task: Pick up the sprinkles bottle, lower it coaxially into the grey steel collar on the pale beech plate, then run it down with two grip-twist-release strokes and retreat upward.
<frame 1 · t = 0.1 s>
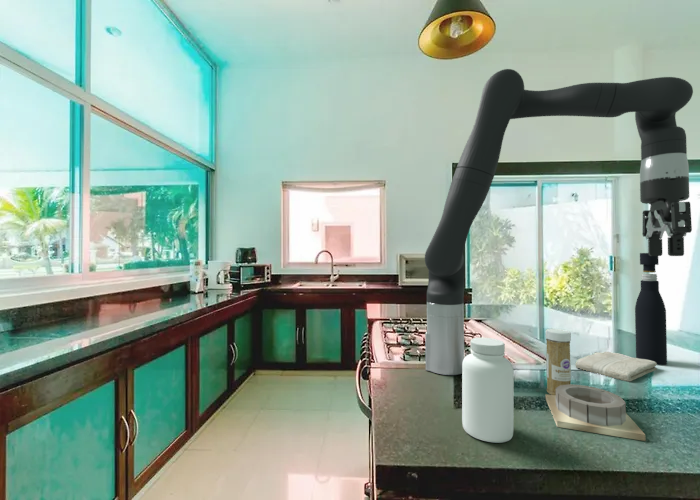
hand: (665, 255, 70), 29 cm above the counter, tool pointing down, fingers open, 8 cm apart
pill bottle: (487, 432, 56), on the counter
washcloth: (616, 371, 87), on the counter
black bottle: (651, 362, 93), on the counter
collar: (589, 417, 61), on the counter
sprinkles bottle: (558, 394, 71), on the counter
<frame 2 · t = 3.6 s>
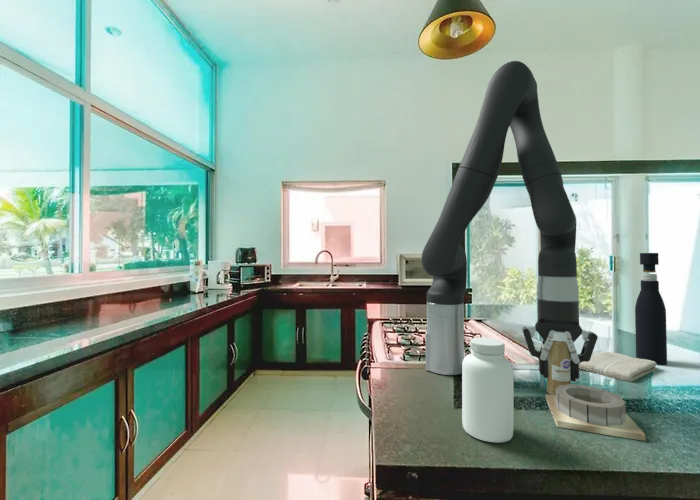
hand: (558, 378, 71), 3 cm above the counter, tool pointing down, fingers closed on sprinkles bottle, 4 cm apart
sprinkles bottle: (558, 394, 71), on the counter, touching gripper
everything else where it was.
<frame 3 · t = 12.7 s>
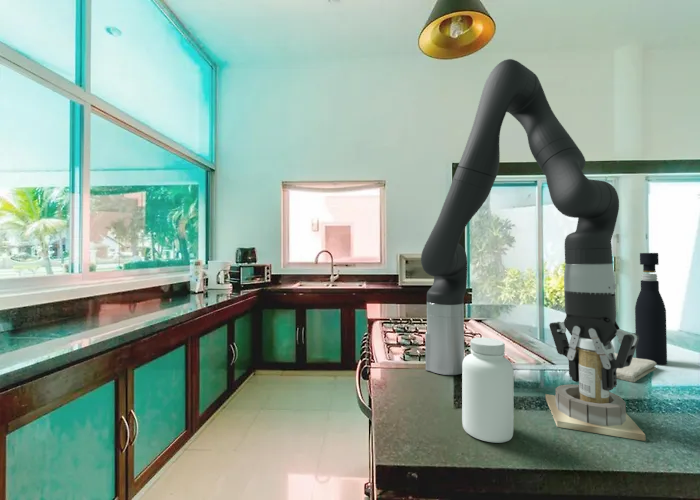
hand: (592, 384, 60), 6 cm above the counter, tool pointing down, fingers closed on sprinkles bottle, 4 cm apart
sprinkles bottle: (594, 413, 60), point 1 cm above the counter, touching collar, gripper
everything else where it was.
when the fingers open (6 cm above the counter, at t = 14.0 s): sprinkles bottle stays where it is, resting on collar.
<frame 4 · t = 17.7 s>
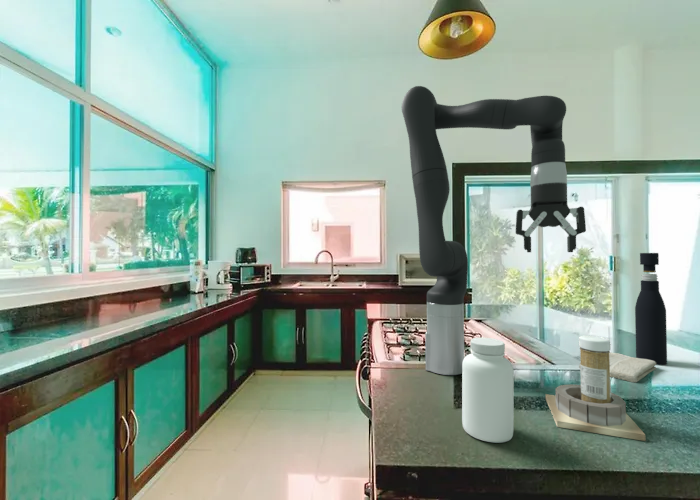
hand: (549, 252, 80), 30 cm above the counter, tool pointing down, fingers open, 8 cm apart
sprinkles bottle: (595, 414, 60), point 1 cm above the counter, touching collar
everything else where it was.
at the end: sprinkles bottle 1.0 cm off-centre on the collar, point 0.8 cm above the collar's base; sprinkles bottle tilted 0°; the gripper is holding nothing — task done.
